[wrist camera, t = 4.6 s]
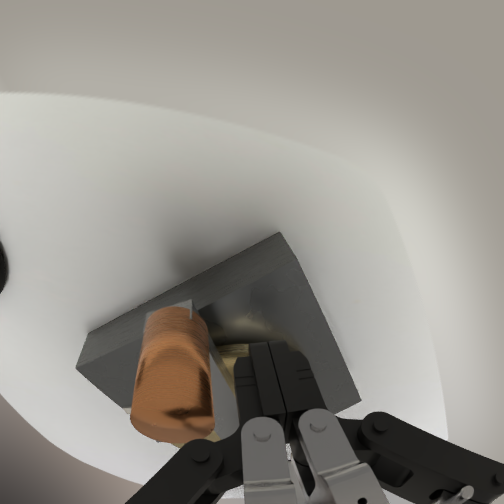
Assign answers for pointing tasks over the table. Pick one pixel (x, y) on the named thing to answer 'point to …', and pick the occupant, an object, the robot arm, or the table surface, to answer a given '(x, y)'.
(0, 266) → the beverage can
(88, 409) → the table surface
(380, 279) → the table surface
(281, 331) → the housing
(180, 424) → the gold plate with handle
